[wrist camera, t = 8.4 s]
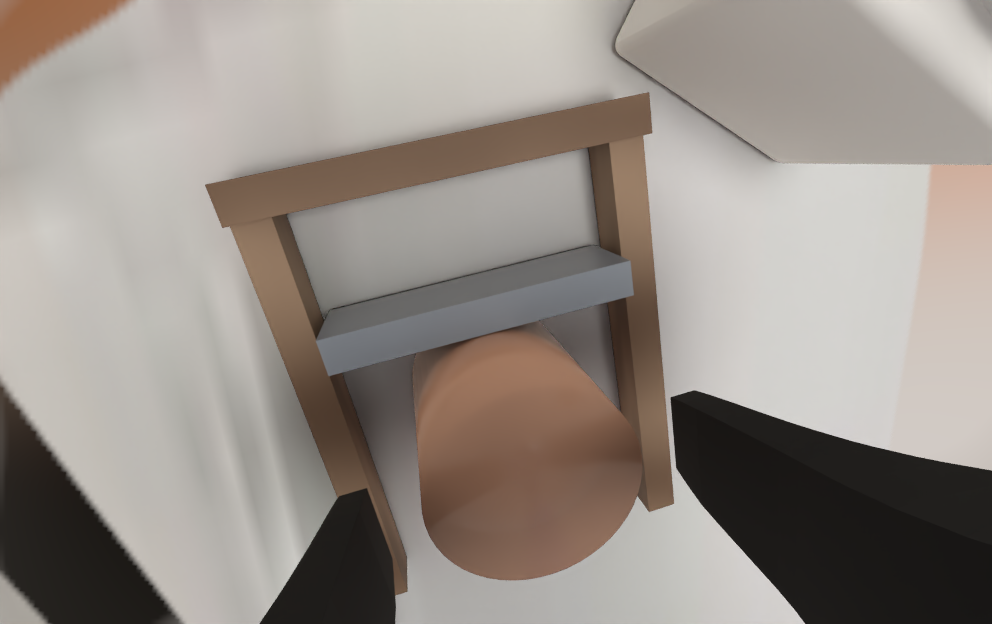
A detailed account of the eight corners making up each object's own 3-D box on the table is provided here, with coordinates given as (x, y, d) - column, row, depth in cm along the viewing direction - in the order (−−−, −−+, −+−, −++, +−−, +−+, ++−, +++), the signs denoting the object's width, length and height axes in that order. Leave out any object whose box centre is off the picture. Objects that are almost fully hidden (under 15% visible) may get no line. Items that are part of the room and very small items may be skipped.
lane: (653, 477, 19) (681, 513, 17) (380, 565, 17) (378, 614, 15) (614, 101, 14) (649, 92, 12) (233, 181, 13) (205, 185, 11)
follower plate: (597, 274, 15) (634, 295, 13) (339, 340, 14) (328, 376, 12) (593, 244, 15) (630, 260, 13) (329, 310, 14) (315, 341, 12)
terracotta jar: (567, 415, 17) (651, 540, 11) (432, 454, 16) (451, 607, 11) (545, 286, 15) (631, 358, 10) (394, 324, 15) (393, 426, 9)
